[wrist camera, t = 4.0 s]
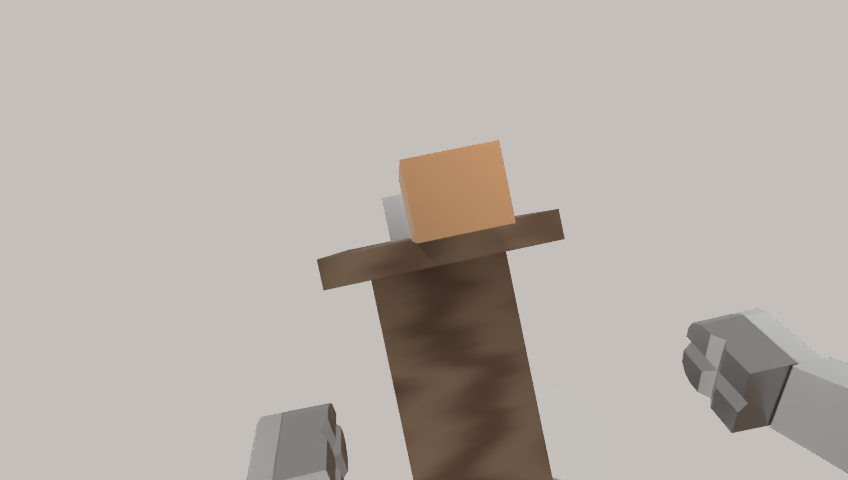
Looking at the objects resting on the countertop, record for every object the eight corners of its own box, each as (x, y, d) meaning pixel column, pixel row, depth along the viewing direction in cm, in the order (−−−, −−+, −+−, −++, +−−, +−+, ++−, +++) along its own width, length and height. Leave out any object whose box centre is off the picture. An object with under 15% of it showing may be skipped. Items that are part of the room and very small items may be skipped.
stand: (428, 778, 23) (316, 259, 23) (416, 574, 37) (347, 250, 37) (660, 715, 24) (558, 209, 23) (563, 538, 38) (498, 218, 37)
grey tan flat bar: (383, 250, 14) (362, 150, 14) (391, 241, 37) (384, 203, 37) (547, 216, 14) (528, 117, 14) (454, 227, 37) (446, 190, 37)
